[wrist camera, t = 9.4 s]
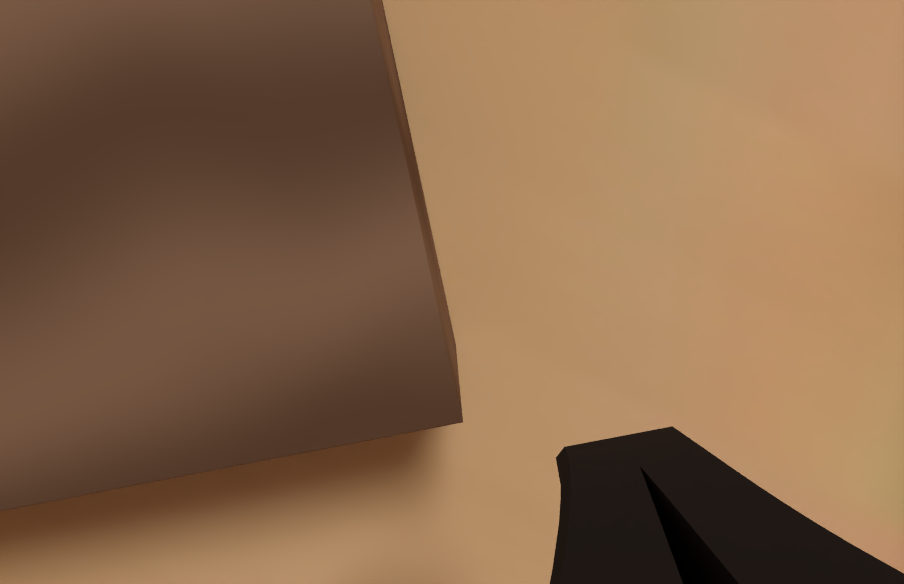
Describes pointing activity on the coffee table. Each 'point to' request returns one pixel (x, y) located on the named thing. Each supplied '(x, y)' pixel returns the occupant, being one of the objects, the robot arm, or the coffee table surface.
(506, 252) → the coffee table surface
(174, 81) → the walnut deck
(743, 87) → the coffee table surface
